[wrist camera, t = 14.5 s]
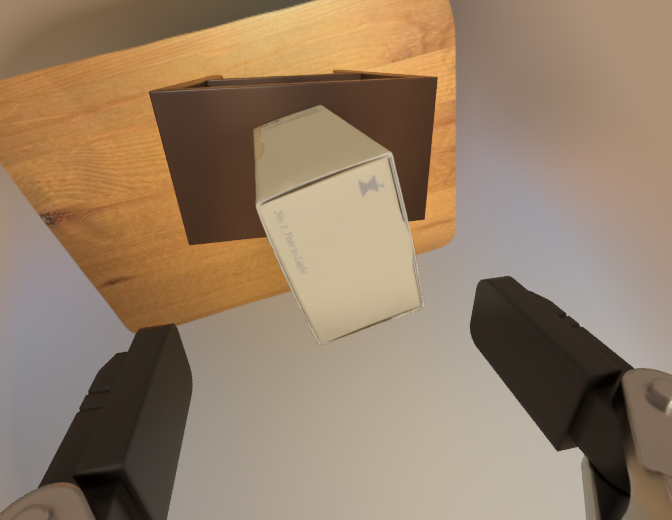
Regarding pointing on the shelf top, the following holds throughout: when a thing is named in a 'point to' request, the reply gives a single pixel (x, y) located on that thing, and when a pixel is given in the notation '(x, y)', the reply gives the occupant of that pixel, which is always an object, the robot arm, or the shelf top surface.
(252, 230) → the walnut shelf
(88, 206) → the shelf top surface
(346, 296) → the cosmetic box
